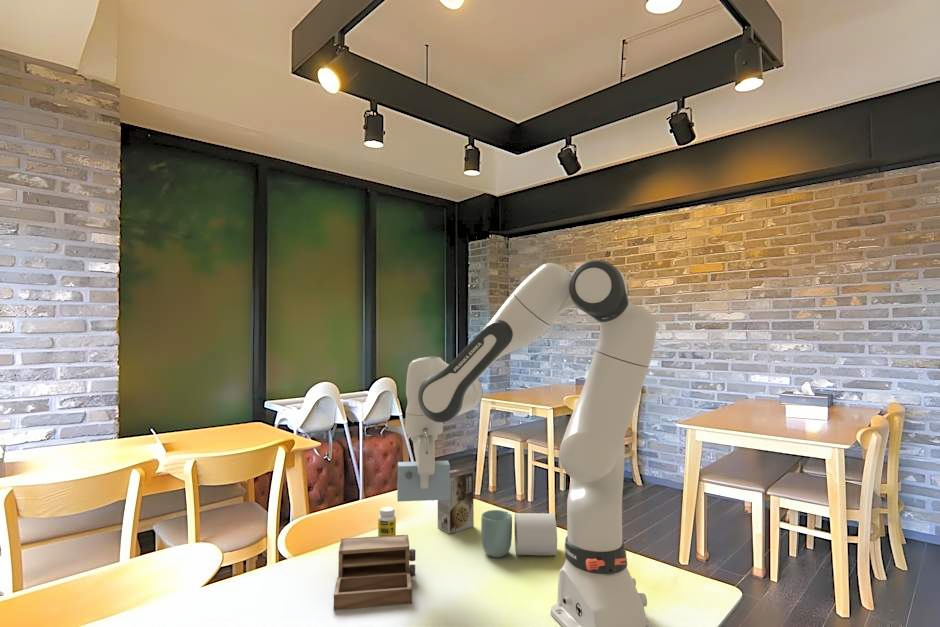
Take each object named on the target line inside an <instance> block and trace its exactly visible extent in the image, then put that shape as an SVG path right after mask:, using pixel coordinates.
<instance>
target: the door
mask: <svg viewBox="0 0 940 627" xmlns="http://www.w3.org/2000/svg"><path fill="white" fill-rule="evenodd" d="M450 470H451V465H450V462H449V460H435V471H434V474H433V475H429V480H428V488H426V489H422V488H421V487H420V475H419V474H418V469H417V464H416V461H398V462H397V495H396V496H397V502H419V501H420V502H421V501H422V502H423V501H438V500H450Z"/></svg>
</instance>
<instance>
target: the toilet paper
mask: <svg viewBox="0 0 940 627" xmlns="http://www.w3.org/2000/svg"><path fill="white" fill-rule="evenodd" d="M513 523H514V528H513V529H514V530H513V531H514V550H515V555H516V556H557V553H558V531H557V530H558V528H557V521H556V515H555V513H543V512H539V513H537V512H536V513H530V512H529V513H527V512H526V513H525V512H524V513H523V512H521V513H520V512H515V513H514V522H513Z"/></svg>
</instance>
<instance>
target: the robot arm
mask: <svg viewBox="0 0 940 627" xmlns="http://www.w3.org/2000/svg"><path fill="white" fill-rule="evenodd" d="M575 307H576V308H578V309H580V310H581V311H583V313H584V314H585V313H586V314H587V315H589V316H590V317H591V318H593V319H595V320H596V321H597V322H599V323H600V331H599V332H600V333H599V336H598V340H597V343H596V346H595V350H594V353H593V355H592V359H591V362H590V366H589V368H588V371H587V374H586V377H585V378H586V379H585V382H584V384H583V387H582V390H581V392H580V393H579V397H578V398H577V401H576V404H575V406H574V409H573V411H572V414H571V416H570V418H569V421H568V424H567V426H566V429H565V431H564V435H563V437H562V441H561V443H560V445H559V452H558V458H559V462H560V465H561V468H562V469H563V470H564V472H565V473H566V474H567V475H568V476H569V477H570V482H569V489H568V494H567V500H566V510H567V511H566V513H567V514H566V515H567V517H566V519H567V520H566V522H567V523H566V524H567V525H566V526H567V528H566V529H567V530H566V531H567V534H566V535H567V536H566V537H565V543H564V556H565V558H566V559H565V561H564V563H563V565H562V567H560V570H559V571H558V578H557V579H558V580H557V581H558V582H557V599H556V603H555V604H553V605H552V606H551V608H550V615H551V616H552V618H553V619H555V621H557V623H558V624H560V626H562V627H652V625H651V623H650V622H649V619H648V618H647V617H646V616H647V615H646V611H645V608H646V607H647V605H648V600H647V594H645V593H643V592H638V589H637V582H636V578H634V577H632V575H631V573H630V571H629V569H628V558H627V552H626V548H625V544H624V542H623V492H624V476H625V474H624V473H625V452H626V449H625V448H626V442H625V441H626V440H625V437H626V434H627V431H628V429H629V425H630V423H631V421H632V418H633V414H634V412H635V409H636V407H637V404H638V401H639V399H640V395H641V391H642V388H643V386H644V383H645V380H646V376H647V374H648V373H647V372H648V371H649V367H650V363H651V360H652V356H653V352H654V348H655V347H654V346H655V343H656V342H655V341H656V336H657V320H656V317H655V316H654V315H653V314H652V313H651V312H650V311H649V310H648V309H646V308H643V307H642V306H639V305H636V304H634V303H632V302H631V301H630V299H629V285H628V283H627V279H626V277H625V275H624V273H622V271H621V270H620V269H619V268H617V267H616V266H615V265H613V264H612V263H611V262H609V261H606V260H601V259H593V260H592V259H591V260H588V261H584V262H583V263H581V264H580V265H578V266H577V267H576V268H575V269H574V270H573V272H572V271H571V272H570V271H569V270H568V269H566V268H565V267H563V266H562V265H561V264H557V263H554V262H547V263H543V264H541V265H540V266H539V267H538V268H536V269H535V270H534V271H532V273H530V274H529V275H528V276H527V277H526V278H525V279H524V280H523V281H522V282H521V283H520V284H519V285H518V286H517V287H516V288H515V290H514V291H513V292H512V293H511V294H510V295H509V296H508V298H507V299H506V300H505V302H503V303H502V305H501V307H499V309H498V310H497V311H496V313H495V314H494V316H493V317H492V318H491V319H490V320H489V321H488V322H487V324H486V325H485V326H484V327H483V329H482V330H481V331H480V332H479V333H478V334H477V335H476V336H474V338H473V339H472V340H471V341H470V342H469V343H468V345H466V346H465V348H464V349H463V350H461V352H460V353H459V354H457V356H456V357H455V358H454V359H453V360H452V361H451V362H450V363H447V362H446V361H444V360H443V358H442V357H440V356H434V355H432V356H425V357H420V358H415V359H413V360H412V361H411V362H410V363H409V364H408V366H407V372H406V373H407V374H406V383H405V396H406V400H407V405H406V409H405V427H404V428H405V430H404V431H405V434H407V435H409V436H410V440H411V441H412V444H413V445H412V446H413V447H412V448H413V453H414V457H415V462H416V464H417V469H418V474H419V475H420V487H421V488H422V489H426V488H428V480H429V475H433V474H434V471H435V461H436V458H435V457H436V455H435V454H436V452H435V451H436V449H435V441H437V440H438V435H441V434H442V433H444V431H443V430H444V423H446V422H448V421H450V420H452V419H455V417H458V416H460V415H464V414H465V413H468V412H470V411H472V410H474V409H475V408H476V407H478V406H479V405H480V403H481V401H482V398H483V386H482V383H481V381H480V380H479V378H480V377H481V375H482V374H484V373H485V371H486V370H487V369H488V368H489V367H490V366H492V364H494V362H496V361H497V360H498V359H500V358H501V357H503V356H505V355H507V354H509V353H511V352H514V351H516V350H520V349H523V348H525V347H527V346H529V345H531V344H533V343H534V342H535V341H536V340H538V339H539V338H540V337H542V336H543V335H544V333H545V332H547V331H548V330H549V328H551V326H552V325H553V324H554V323H555V321H557V320H558V318H559V317H560V316H561V315H562V314H563V313H564V312H566V311H567V310H568V309H570V308H575Z"/></svg>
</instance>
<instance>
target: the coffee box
mask: <svg viewBox="0 0 940 627" xmlns="http://www.w3.org/2000/svg"><path fill="white" fill-rule="evenodd" d="M474 513H475V512H474V472H473V471H471V470H468V469H465V468H462V467H459V468H454V469H450V500H437V529H439V530H441V531H443V532H446V533H447V534H449V535H452V534H456V533H457V532H460V531H464V530H466V529H470V528H473V527H474V525H475V522H474V521H475V520H474V519H475V518H474Z"/></svg>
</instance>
